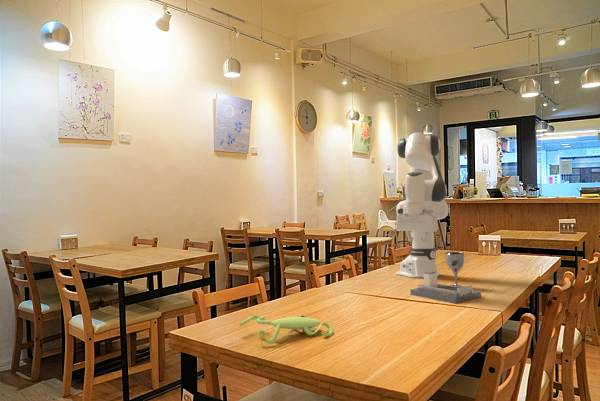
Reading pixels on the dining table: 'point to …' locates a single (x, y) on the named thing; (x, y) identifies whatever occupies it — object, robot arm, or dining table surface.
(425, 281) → the fader tab
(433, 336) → the dining table surface
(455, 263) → the wine glass
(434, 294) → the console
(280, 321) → the figurine
